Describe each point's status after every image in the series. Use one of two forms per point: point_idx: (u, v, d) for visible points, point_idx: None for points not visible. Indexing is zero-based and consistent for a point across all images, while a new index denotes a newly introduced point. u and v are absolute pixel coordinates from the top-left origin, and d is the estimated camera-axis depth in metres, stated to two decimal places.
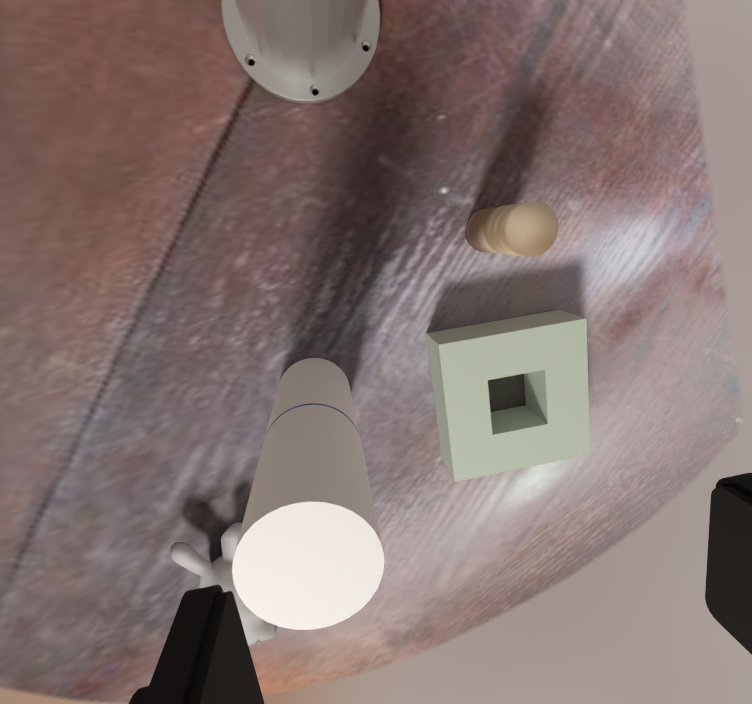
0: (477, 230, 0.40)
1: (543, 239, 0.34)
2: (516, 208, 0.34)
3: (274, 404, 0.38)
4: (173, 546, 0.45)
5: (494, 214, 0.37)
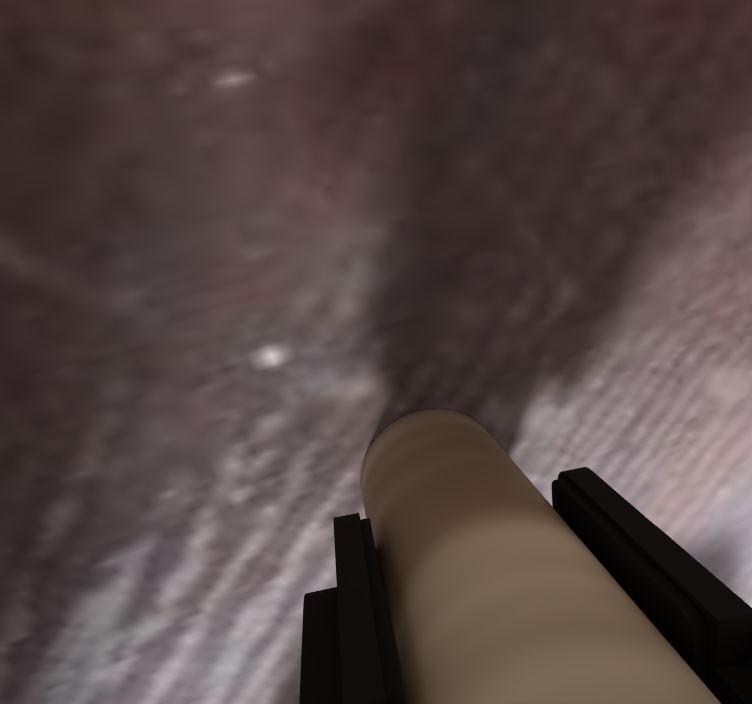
0: None
1: None
2: None
3: None
4: None
5: (428, 628, 0.06)
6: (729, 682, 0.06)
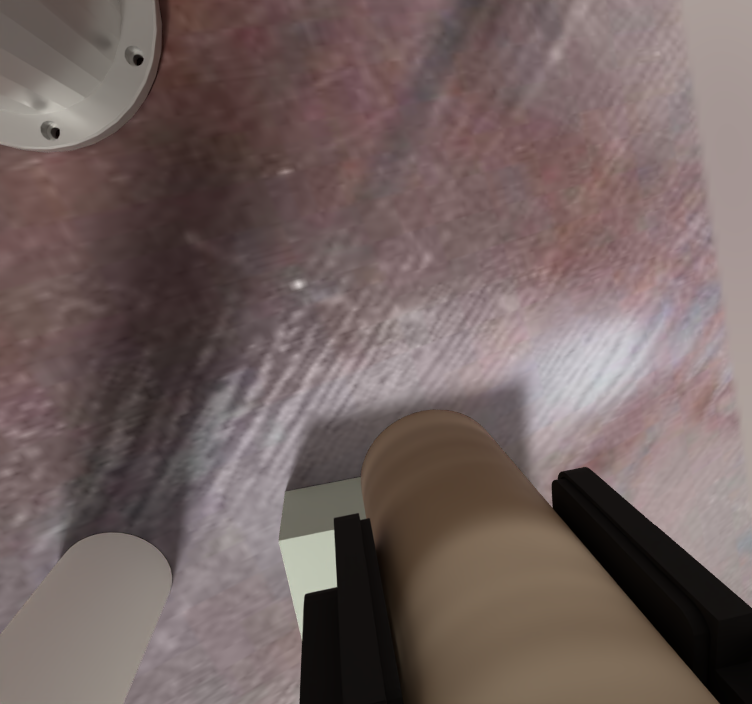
0: None
1: None
2: None
3: None
4: None
5: (428, 629, 0.06)
6: (729, 682, 0.06)
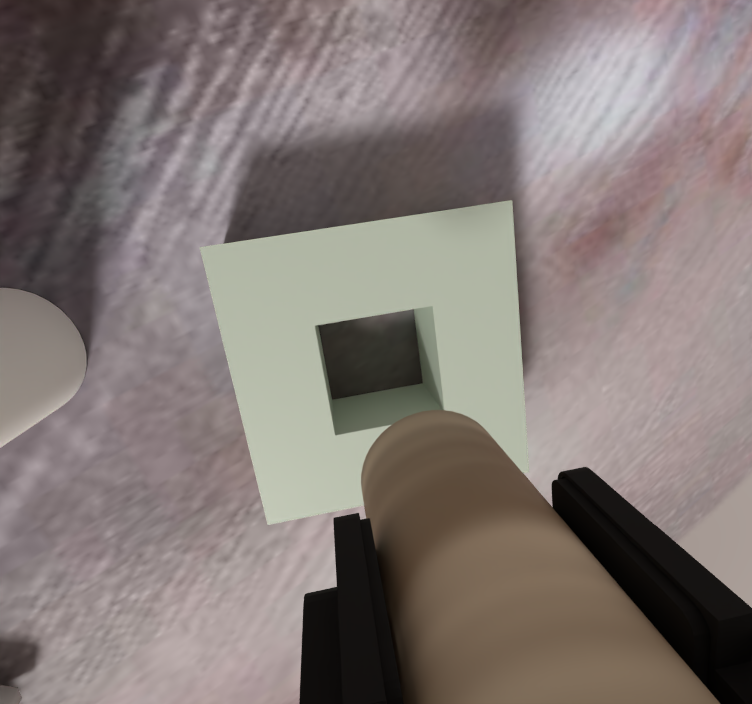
0: None
1: None
2: None
3: None
4: None
5: (430, 632, 0.06)
6: (729, 682, 0.06)
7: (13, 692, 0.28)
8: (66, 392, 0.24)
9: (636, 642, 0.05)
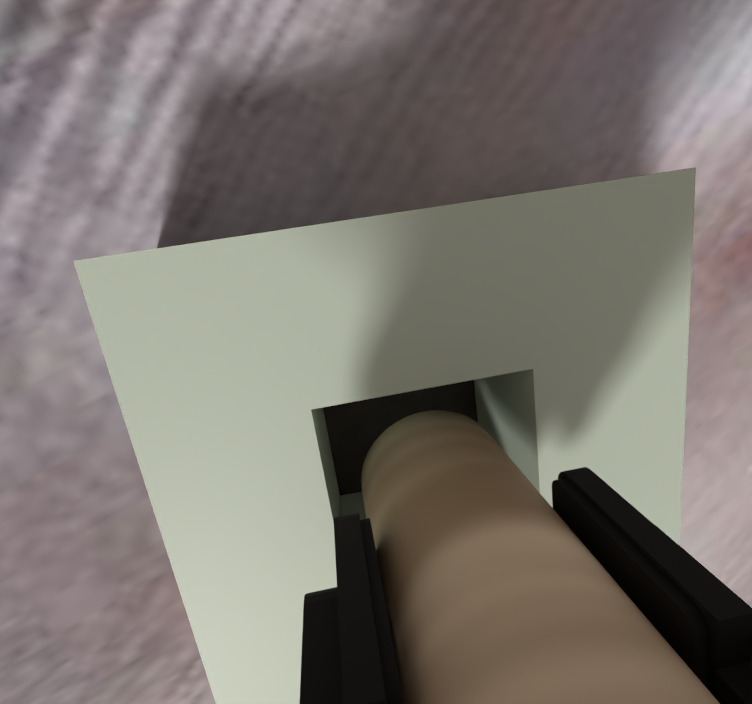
0: None
1: None
2: None
3: None
4: None
5: (430, 632, 0.06)
6: (729, 682, 0.06)
7: None
8: None
9: (636, 642, 0.05)
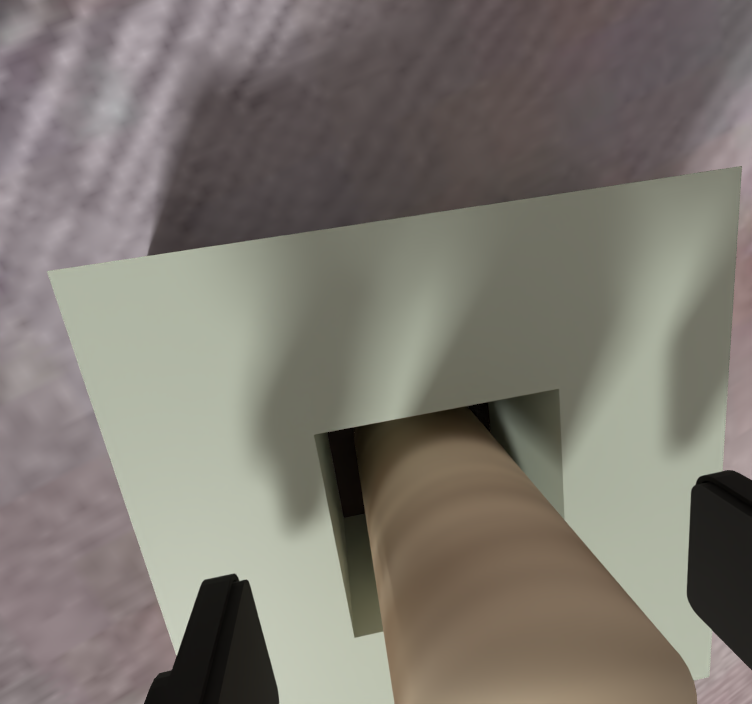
0: (361, 485, 0.12)
1: None
2: (458, 647, 0.06)
3: None
4: None
5: (393, 503, 0.09)
6: None
7: None
8: None
9: (523, 496, 0.08)
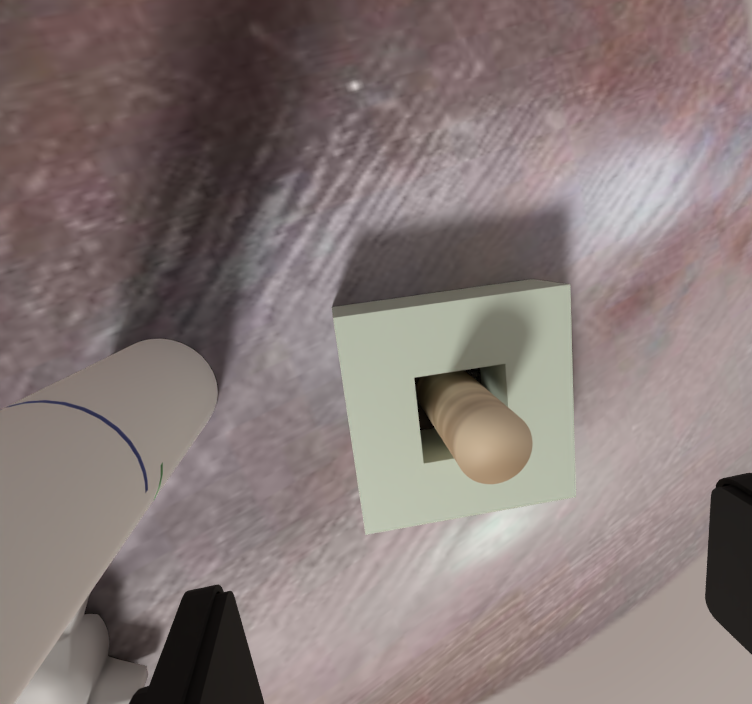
0: (426, 405, 0.29)
1: (510, 460, 0.23)
2: (469, 418, 0.23)
3: None
4: None
5: (445, 401, 0.26)
6: None
7: (143, 669, 0.33)
8: (206, 423, 0.30)
9: (489, 394, 0.25)
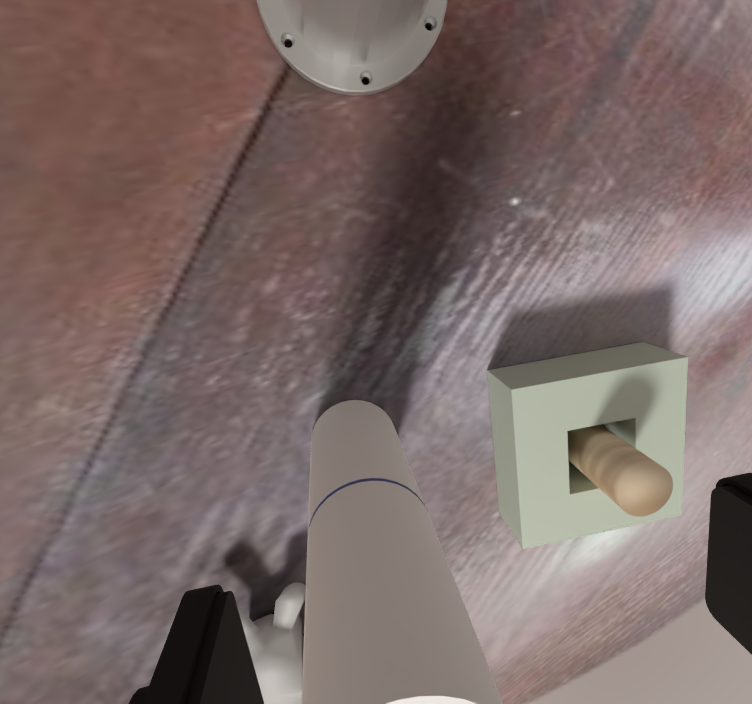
0: None
1: (656, 499, 0.31)
2: (628, 470, 0.31)
3: (314, 466, 0.31)
4: None
5: (593, 450, 0.34)
6: None
7: None
8: None
9: (631, 446, 0.33)
